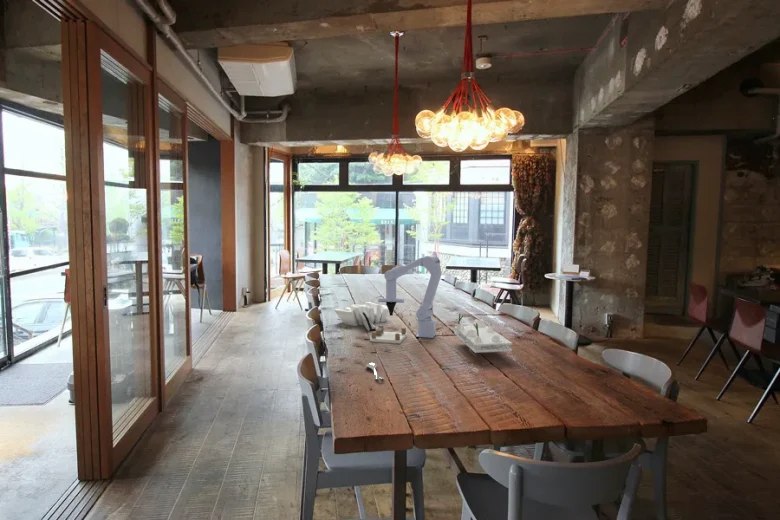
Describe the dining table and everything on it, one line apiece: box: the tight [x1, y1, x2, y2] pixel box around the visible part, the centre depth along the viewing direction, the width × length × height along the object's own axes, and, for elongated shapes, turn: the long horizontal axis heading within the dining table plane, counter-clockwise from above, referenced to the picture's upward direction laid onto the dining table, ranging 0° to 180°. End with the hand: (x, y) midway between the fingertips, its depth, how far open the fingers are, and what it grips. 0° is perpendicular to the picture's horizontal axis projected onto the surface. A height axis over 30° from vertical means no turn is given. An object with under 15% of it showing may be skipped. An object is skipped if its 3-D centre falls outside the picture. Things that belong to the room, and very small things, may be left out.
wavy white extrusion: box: [333, 301, 389, 327], centre depth 290 cm, size 35×16×10 cm, turn 120°
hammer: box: [375, 325, 385, 335], centre depth 254 cm, size 9×3×3 cm, turn 170°
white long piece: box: [365, 362, 385, 380], centre depth 193 cm, size 20×4×5 cm
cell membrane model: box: [453, 313, 513, 357], centre depth 225 cm, size 35×21×17 cm, turn 8°
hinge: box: [360, 312, 377, 332], centre depth 274 cm, size 17×5×10 cm, turn 14°
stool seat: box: [369, 327, 408, 344], centre depth 250 cm, size 16×16×4 cm
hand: (391, 315), depth 264 cm, fingers closed
